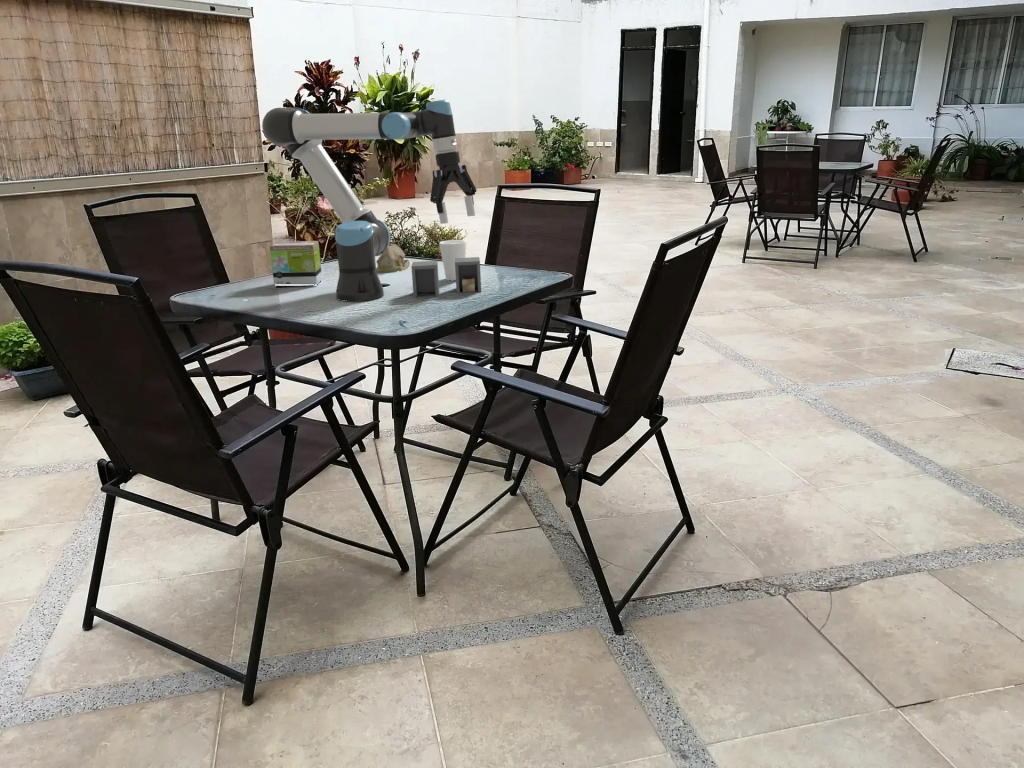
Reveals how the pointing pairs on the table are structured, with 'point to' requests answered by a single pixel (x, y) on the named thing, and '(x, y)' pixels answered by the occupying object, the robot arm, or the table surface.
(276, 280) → the tea box
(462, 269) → the far cover
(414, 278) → the near cover
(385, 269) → the ceramic model
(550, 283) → the table surface
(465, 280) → the letter cube
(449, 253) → the foam cup
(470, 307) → the table surface
